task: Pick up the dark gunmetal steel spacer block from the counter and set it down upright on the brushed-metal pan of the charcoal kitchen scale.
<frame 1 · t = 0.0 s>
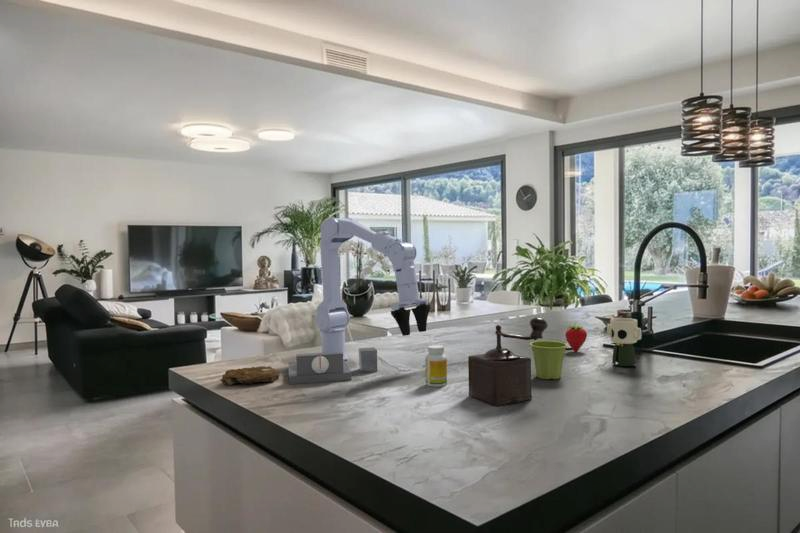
hand: (414, 333, 151), 11 cm above the worktop, tool pointing down, fingers open, 7 cm apart
plant pot: (548, 377, 142), on the worktop
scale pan: (317, 359, 152), point 4 cm above the worktop, slide at 0.0 cm, touching scale
supplement bottle: (436, 385, 136), on the worktop
decorative rock: (250, 383, 143), on the worktop
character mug: (623, 366, 153), on the worktop
manual coffee grinder: (509, 397, 124), on the worktop
steel spacer: (368, 370, 154), on the worktop
strawberry: (576, 352, 174), on the worktop
scale: (318, 374, 150), on the worktop
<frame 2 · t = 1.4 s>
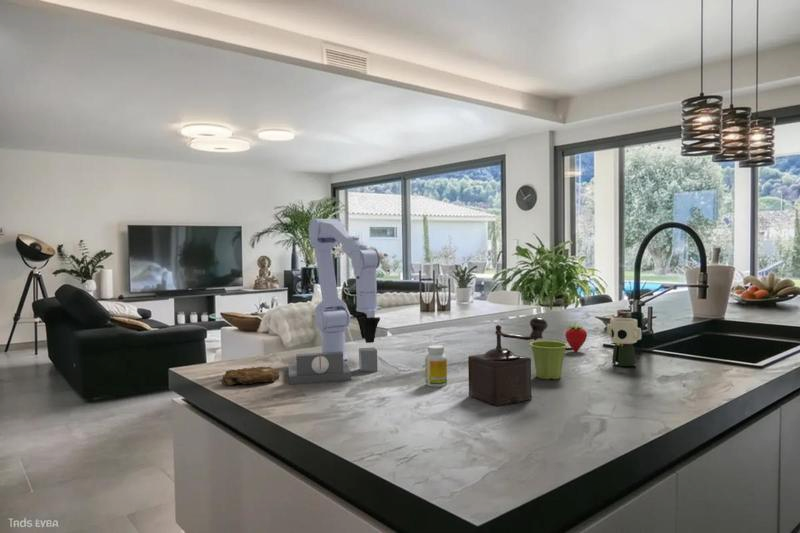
hand: (367, 340, 154), 8 cm above the worktop, tool pointing down, fingers open, 7 cm apart
nothing on the worktop moved.
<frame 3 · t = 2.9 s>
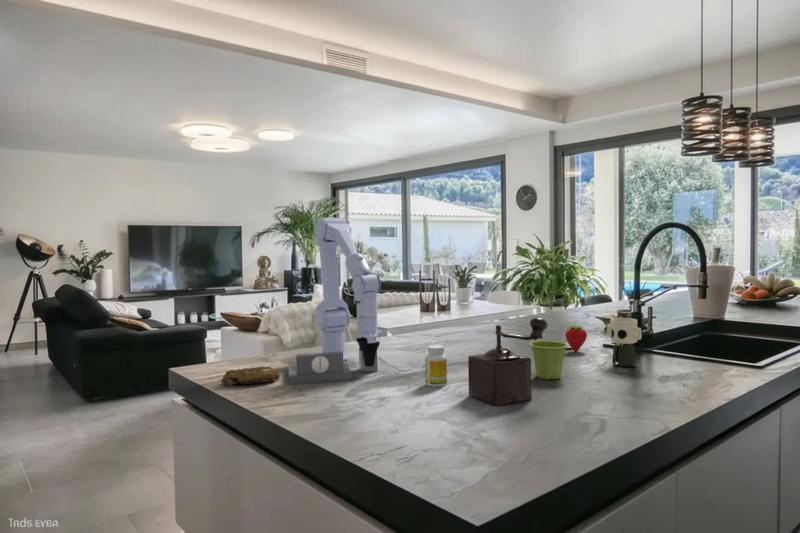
hand: (368, 364, 154), 2 cm above the worktop, tool pointing down, fingers closed on steel spacer, 4 cm apart
steel spacer: (368, 370, 154), on the worktop, touching gripper
everything else where it was.
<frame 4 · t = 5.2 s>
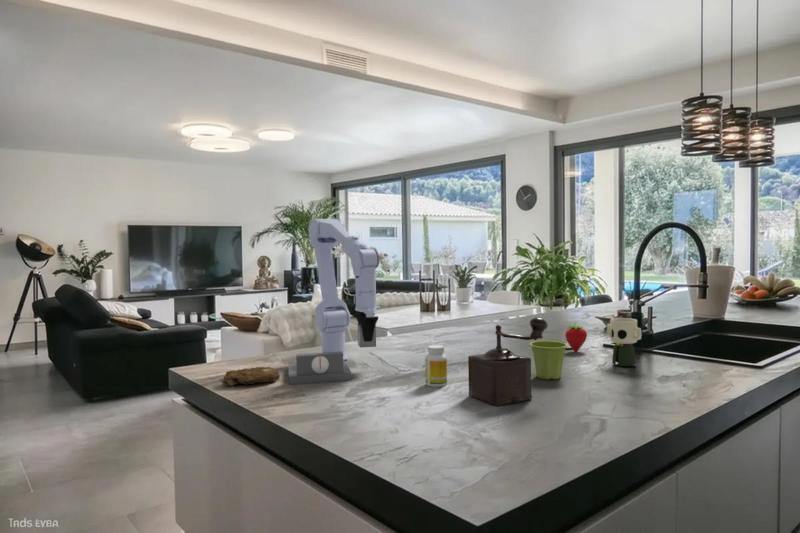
hand: (366, 339, 154), 9 cm above the worktop, tool pointing down, fingers closed on steel spacer, 4 cm apart
steel spacer: (367, 345, 154), point 7 cm above the worktop, touching gripper
everything else where it was.
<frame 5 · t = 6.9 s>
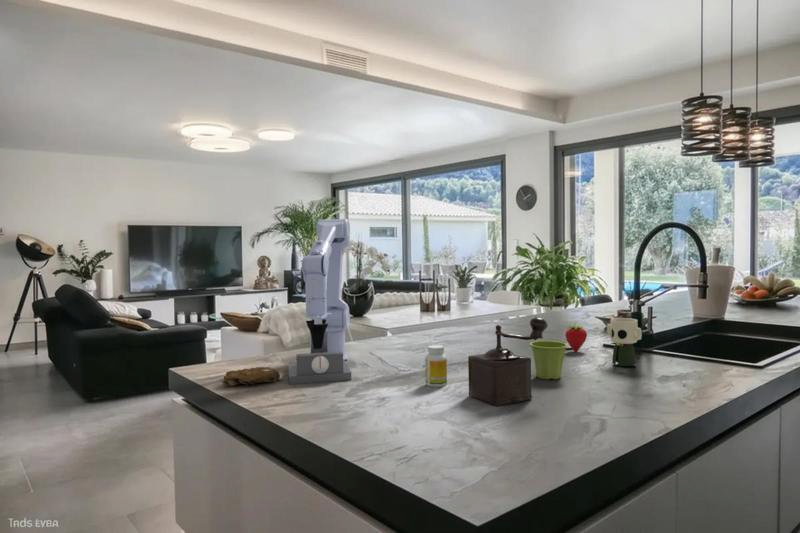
hand: (317, 347, 152), 7 cm above the worktop, tool pointing down, fingers closed on steel spacer, 4 cm apart
steel spacer: (318, 353, 152), point 5 cm above the worktop, touching gripper
when the fingers open (7 cm above the worktop, at t = 7.8 s): steel spacer drops 1 cm, resting on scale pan.
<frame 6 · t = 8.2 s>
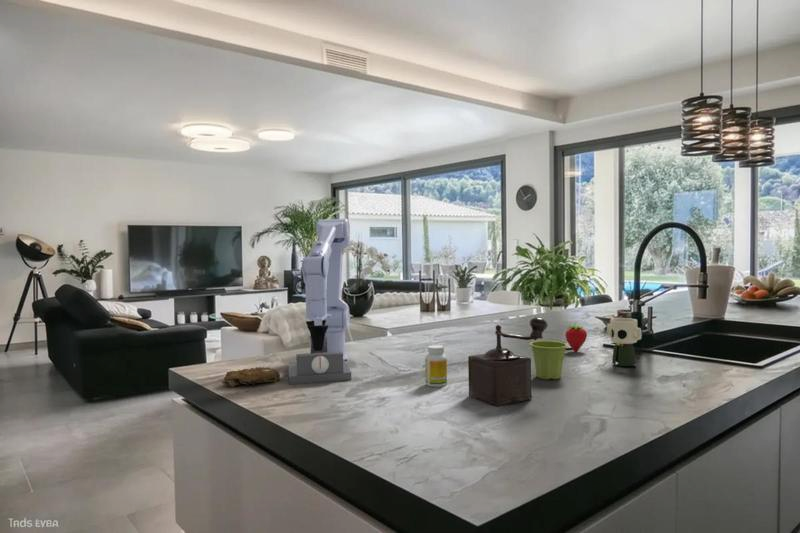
hand: (317, 348, 152), 7 cm above the worktop, tool pointing down, fingers open, 7 cm apart
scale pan: (317, 359, 152), point 4 cm above the worktop, slide at 0.0 cm, touching scale, steel spacer
steel spacer: (318, 358, 152), point 4 cm above the worktop, touching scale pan
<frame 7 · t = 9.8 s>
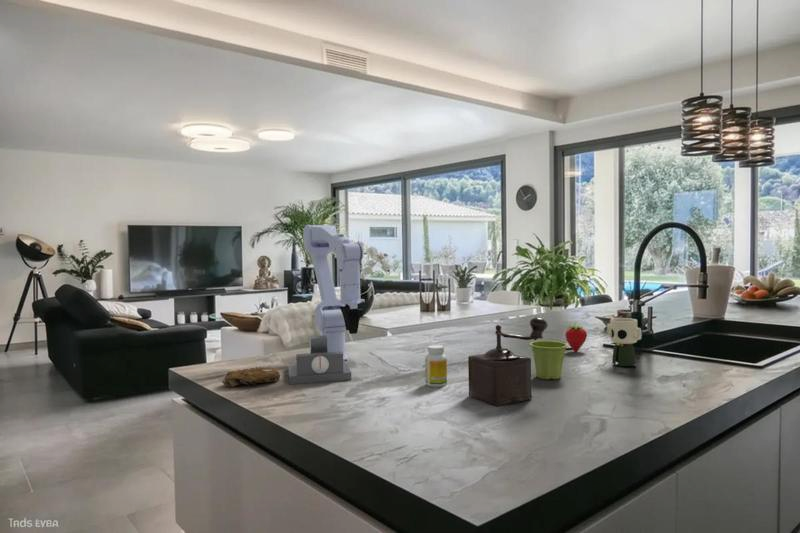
hand: (351, 331, 157), 10 cm above the worktop, tool pointing down, fingers open, 7 cm apart
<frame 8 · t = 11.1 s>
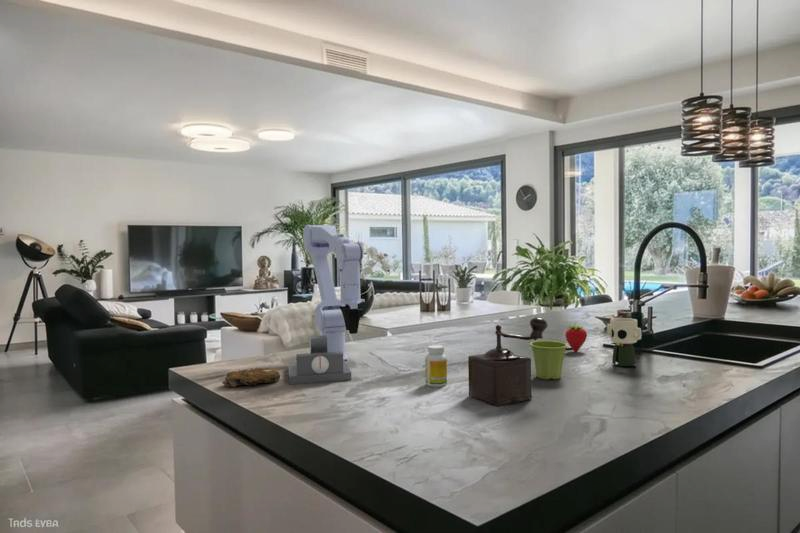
hand: (351, 331, 157), 10 cm above the worktop, tool pointing down, fingers open, 7 cm apart
at the end: steel spacer inside the target area on the scale (0.3 cm from its centre), point 4.0 cm above the scale's base; steel spacer tilted 0°; the gripper is holding nothing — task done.
